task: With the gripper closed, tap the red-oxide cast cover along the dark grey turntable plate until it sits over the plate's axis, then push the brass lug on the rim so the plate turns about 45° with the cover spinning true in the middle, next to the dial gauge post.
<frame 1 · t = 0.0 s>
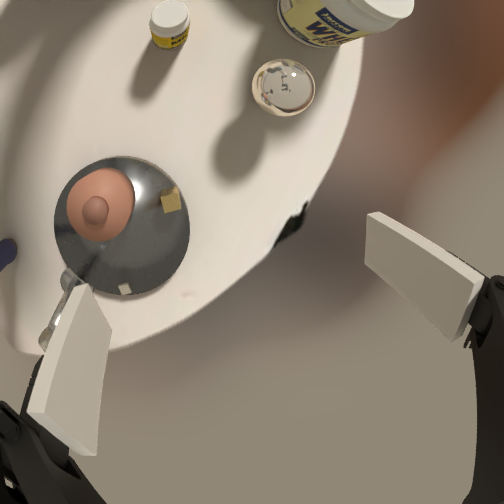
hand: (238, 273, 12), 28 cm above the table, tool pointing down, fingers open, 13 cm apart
turntable: (116, 234, 33), point 4 cm above the table, hinge at 0.0°, touching cover
cover: (106, 197, 32), point 3 cm above the table, touching turntable
supplement tub: (311, 17, 29), on the table
light bulb: (261, 94, 34), on the table
supplement bottle: (170, 36, 27), on the table
rubber mallet: (12, 246, 32), on the table
gauge post: (77, 282, 38), on the table
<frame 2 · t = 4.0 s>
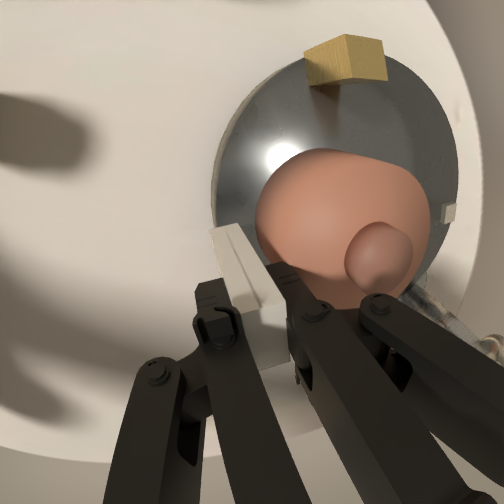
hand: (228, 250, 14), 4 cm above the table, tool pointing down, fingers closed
turntable: (381, 208, 16), point 4 cm above the table, hinge at 0.0°, touching cover
cover: (321, 216, 16), point 3 cm above the table, touching gripper, turntable
gauge post: (402, 287, 25), on the table
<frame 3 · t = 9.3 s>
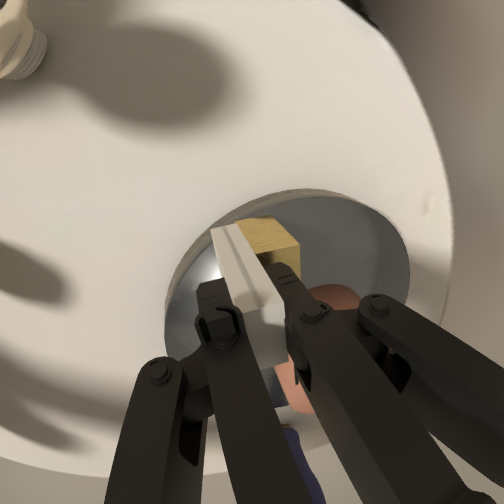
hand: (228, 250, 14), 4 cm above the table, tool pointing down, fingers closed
turntable: (309, 340, 19), point 4 cm above the table, hinge at -2.2°, touching cover, gripper
cover: (316, 329, 20), point 3 cm above the table, touching turntable
light bulb: (36, 58, 9), on the table
rubber mallet: (279, 427, 32), on the table
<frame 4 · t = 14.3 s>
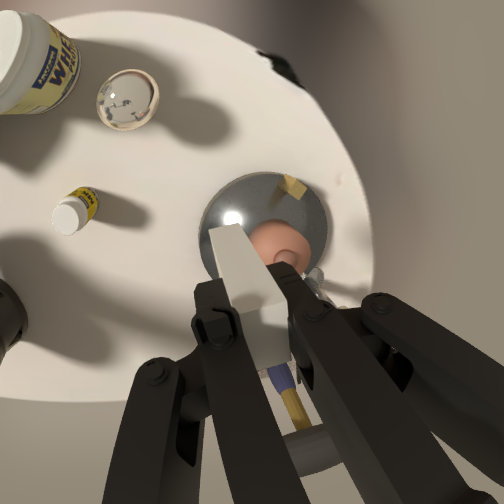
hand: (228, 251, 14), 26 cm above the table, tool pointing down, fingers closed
turntable: (269, 243, 40), point 4 cm above the table, hinge at -44.5°, touching cover
cover: (272, 244, 42), point 3 cm above the table, touching turntable
supplement tub: (48, 74, 24), on the table
light bulb: (138, 105, 31), on the table
supplement bottle: (85, 201, 34), on the table
rubber mallet: (262, 334, 53), on the table
gauge post: (306, 280, 50), on the table
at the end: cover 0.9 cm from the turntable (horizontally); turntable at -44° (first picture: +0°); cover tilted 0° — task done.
